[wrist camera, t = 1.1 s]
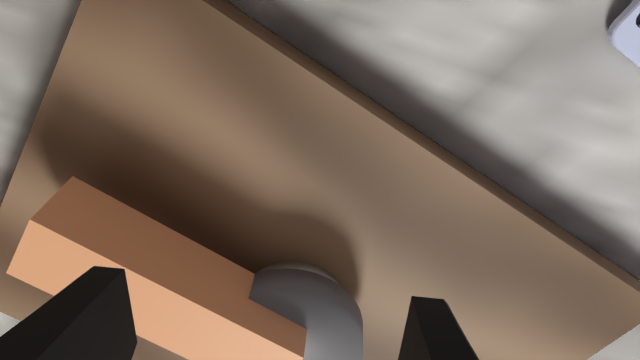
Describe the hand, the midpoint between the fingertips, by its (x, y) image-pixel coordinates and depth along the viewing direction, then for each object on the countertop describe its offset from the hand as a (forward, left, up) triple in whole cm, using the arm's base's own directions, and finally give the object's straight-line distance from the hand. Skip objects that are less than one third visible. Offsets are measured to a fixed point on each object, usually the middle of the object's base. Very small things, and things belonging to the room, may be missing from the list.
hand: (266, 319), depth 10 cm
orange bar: (+6, 0, -6) cm, 8 cm away
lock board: (+6, +3, -8) cm, 11 cm away
